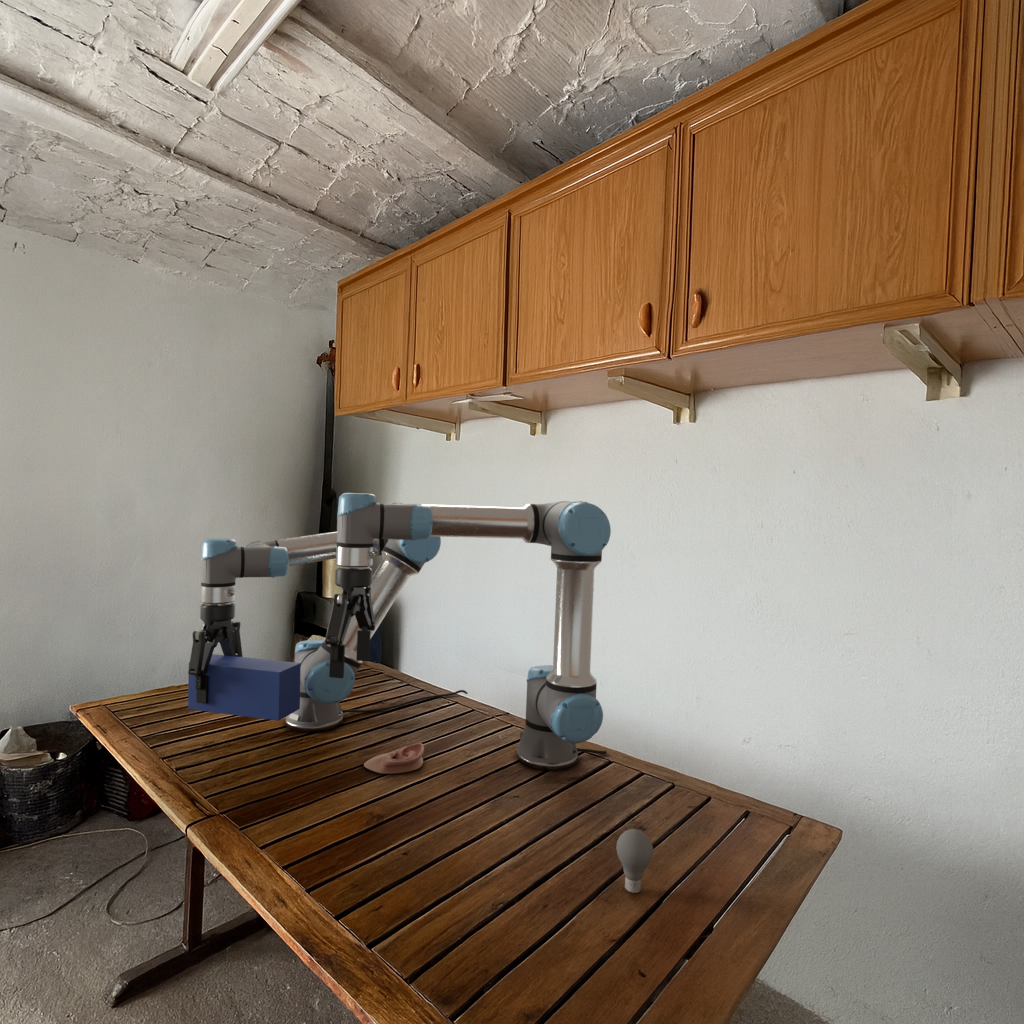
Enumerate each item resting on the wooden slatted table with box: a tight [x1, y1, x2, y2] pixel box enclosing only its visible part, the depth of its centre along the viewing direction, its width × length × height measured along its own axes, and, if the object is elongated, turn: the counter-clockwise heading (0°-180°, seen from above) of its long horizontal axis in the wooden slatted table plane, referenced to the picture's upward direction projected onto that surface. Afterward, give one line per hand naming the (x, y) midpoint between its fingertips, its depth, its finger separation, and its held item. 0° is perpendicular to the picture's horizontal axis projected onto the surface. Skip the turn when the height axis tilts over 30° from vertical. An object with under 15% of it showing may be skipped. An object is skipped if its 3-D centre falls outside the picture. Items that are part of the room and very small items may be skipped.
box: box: [187, 653, 301, 722], centre depth 150 cm, size 24×8×11 cm, turn 76°
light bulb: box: [615, 828, 654, 894], centre depth 106 cm, size 6×6×10 cm
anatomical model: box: [363, 742, 425, 775], centre depth 151 cm, size 13×4×12 cm
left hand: (215, 696), depth 152 cm, fingers closed on box, 8 cm apart
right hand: (350, 668), depth 132 cm, fingers open, 13 cm apart
